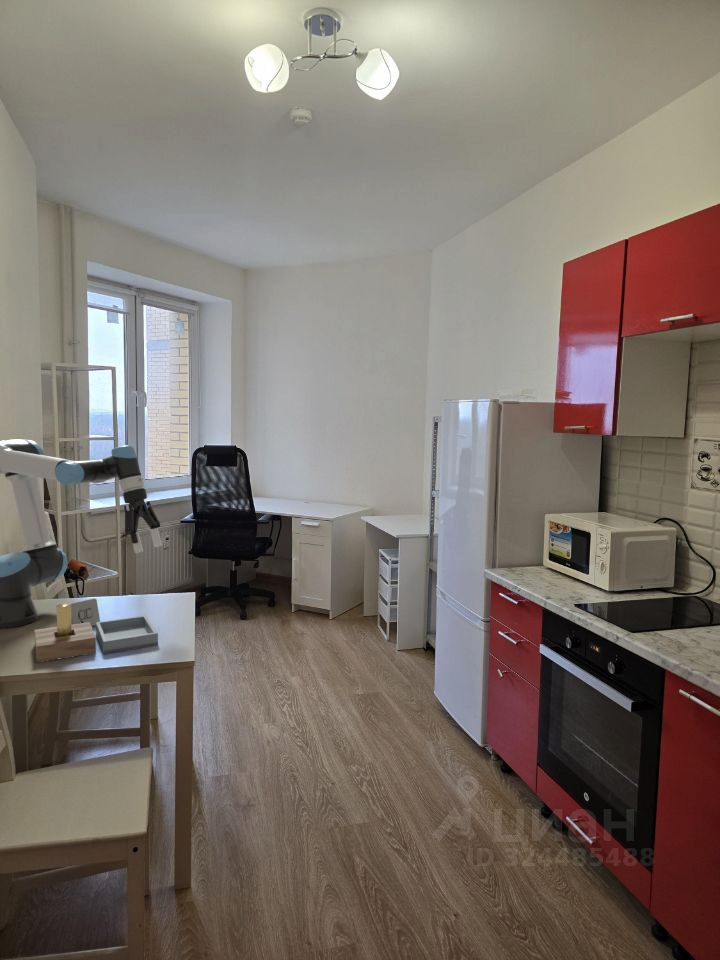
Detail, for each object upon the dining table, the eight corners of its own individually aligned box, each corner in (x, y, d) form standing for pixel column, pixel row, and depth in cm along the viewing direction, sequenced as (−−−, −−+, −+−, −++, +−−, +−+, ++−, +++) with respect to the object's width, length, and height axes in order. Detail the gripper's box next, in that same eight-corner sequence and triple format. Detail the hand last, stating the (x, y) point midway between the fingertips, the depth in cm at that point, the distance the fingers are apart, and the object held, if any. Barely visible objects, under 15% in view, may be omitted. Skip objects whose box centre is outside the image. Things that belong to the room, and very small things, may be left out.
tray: (96, 633, 199) (95, 622, 198) (146, 626, 207) (145, 615, 206) (103, 654, 182) (103, 641, 181) (158, 645, 190) (157, 633, 189)
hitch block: (35, 645, 188) (34, 629, 188) (90, 636, 196) (89, 622, 196) (36, 663, 174) (36, 646, 174) (96, 653, 182) (95, 637, 182)
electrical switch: (74, 631, 201) (72, 604, 200) (67, 629, 204) (65, 602, 204) (101, 624, 208) (99, 598, 208) (93, 623, 211) (91, 597, 211)
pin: (57, 648, 186) (56, 604, 185) (71, 645, 188) (70, 602, 187) (58, 652, 183) (56, 608, 181) (72, 650, 185) (71, 606, 183)
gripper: (124, 489, 193) (141, 552, 193) (160, 485, 217) (174, 541, 217) (103, 494, 194) (120, 557, 194) (141, 490, 218) (156, 546, 218)
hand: (149, 549), depth 205 cm, fingers open, 13 cm apart
